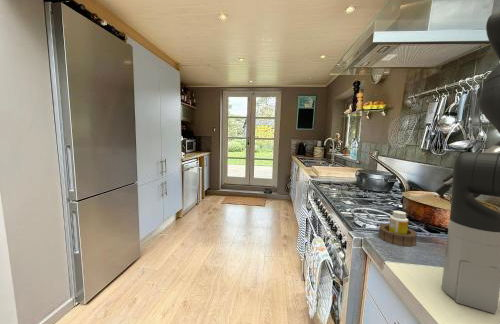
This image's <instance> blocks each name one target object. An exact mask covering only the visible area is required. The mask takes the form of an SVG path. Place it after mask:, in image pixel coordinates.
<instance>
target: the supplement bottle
mask: <svg viewBox="0 0 500 324" xmlns="http://www.w3.org/2000/svg"><path fill="white" fill-rule="evenodd" d="M408 227H409V218H407V213H406V212H405V211H403V210H402V211H401V210H393V211H392V214H391V215H390V216H389V231H390V232H393V233H397V234H404V235H407V229H408Z"/></svg>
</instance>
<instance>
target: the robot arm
mask: <svg viewBox="0 0 500 324" xmlns="http://www.w3.org/2000/svg"><path fill="white" fill-rule="evenodd" d="M485 25H486V26H485V30H486V36H487V40H488V41H489V43H490V46H491V47H492V50H493V51H494V53H495V55H496V56H497V58H498V60H499V61H500V9H499V10H497V11H495V12H493V13H492V14H490V16H489V17H488V18H487V21H486V24H485ZM478 106H479V107H478V108H479V110H480V111H481V113H482V114H483V116H484V117H485V118H486V119H487V121H488V122H490V124H491V125H492V126H493V127H494V128H495V129H496V130H497V132H498V133H499V134H500V62H499V63H498V64H497V65H495V67H494V68H493V69H492V70H491V71H490V73H489V74H487V76H486V77H485V79H484V81H483V83H482V87H481V93H480V97H479V99H478ZM442 183H443V185H442V186H440V187H439V188H438V189H436V190H435V193H436V194H437V195H438V196H440V197H442V196H443V195H445V194H446V193H448V192H449V191H451V197H450V199H449V200H450V202H451V203H450V211H449V212H450V213H449V223H448V229H447V237H446V245H445V253H444V262H443V270H442V279H441V289H442V291H443V292H444V293H445V294H447V296H449V297H450V298H452V299H453V300H454V301H455V302H456V303H457V304H460V305H464V306H467V307H470V308H475V309H476V310H480V311H484V312H488V313H490V314H494V315H495V314H496V310H497V309H498V306H499V305H498V304H499V299H500V211H497V210H494V209H492V208H490V207H488V206H486V205H484V204H483V203H481V202H480V201H478V200H477V199H476V198H479V197H480V196H481V195H482V196H489V197H497V198H500V140H499V141H498V142H496V143H495V144H494V145H492V146H490V147H489V148H487V149H485V150H484V151H483V152H477V151H476V152H473V151H472V152H471V151H468V152H467V151H466V152H461V153H459V154H458V155H457V157H456V158H455V160H454V164H453V170H452V173H451V174H450V175H448V176H447V177H445V178H444V179H442ZM451 189H452V190H451Z"/></svg>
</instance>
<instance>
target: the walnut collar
mask: <svg viewBox="0 0 500 324" xmlns="http://www.w3.org/2000/svg"><path fill="white" fill-rule="evenodd" d="M389 224H390V223H389ZM389 224H387V223H384V224H380V225H379V228H378V238H380V239H381V240H383V241H384V242H387V243H389V244H391V245H392V244H393V245H396V246H401V247H414V246H416V244H417V238H418V237H417V236H418V235H417V231H415V230H412V229H410V228H408V229H407V235H404V234H397V233H393V232H390V231H389Z"/></svg>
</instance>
